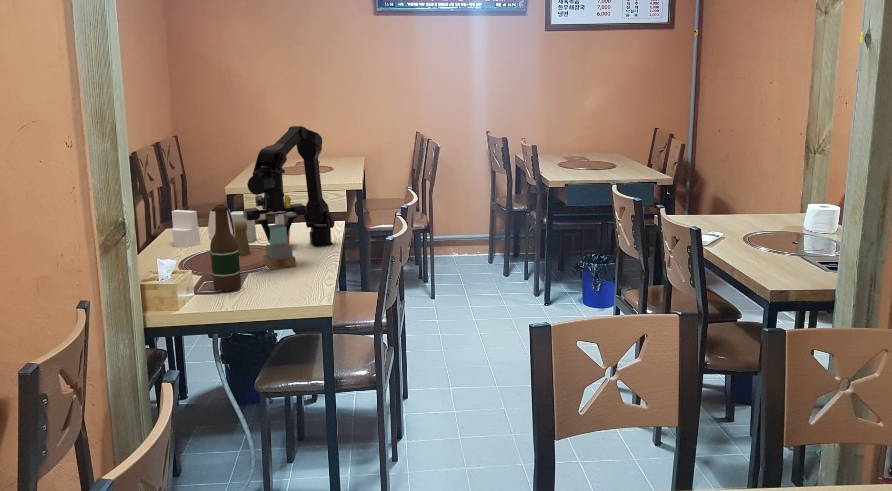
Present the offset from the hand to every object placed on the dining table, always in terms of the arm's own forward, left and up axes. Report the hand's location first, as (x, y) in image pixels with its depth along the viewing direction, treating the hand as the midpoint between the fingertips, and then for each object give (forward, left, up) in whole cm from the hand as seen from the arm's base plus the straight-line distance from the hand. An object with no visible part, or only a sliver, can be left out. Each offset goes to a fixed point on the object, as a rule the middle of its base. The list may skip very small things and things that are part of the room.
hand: (277, 238), depth 240 cm
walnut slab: (0, 0, -9) cm, 9 cm away
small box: (+2, -41, -9) cm, 42 cm away
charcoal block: (0, +1, -6) cm, 6 cm away
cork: (+7, -22, -9) cm, 25 cm away
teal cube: (0, 0, -1) cm, 1 cm away
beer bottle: (+19, +17, -9) cm, 27 cm away
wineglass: (+17, +2, -9) cm, 19 cm away
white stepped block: (+21, -46, -9) cm, 51 cm away
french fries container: (-7, -24, -9) cm, 27 cm away
